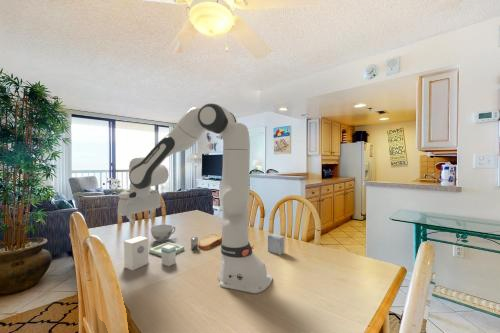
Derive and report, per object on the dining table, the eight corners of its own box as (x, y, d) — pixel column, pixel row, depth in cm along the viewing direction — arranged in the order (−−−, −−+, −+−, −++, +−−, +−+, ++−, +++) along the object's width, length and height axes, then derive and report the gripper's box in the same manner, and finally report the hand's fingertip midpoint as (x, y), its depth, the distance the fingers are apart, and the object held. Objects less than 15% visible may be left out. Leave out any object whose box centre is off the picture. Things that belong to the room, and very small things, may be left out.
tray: (184, 250, 126) (184, 246, 126) (166, 258, 115) (166, 254, 115) (167, 245, 132) (167, 242, 132) (149, 252, 122) (149, 249, 122)
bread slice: (200, 251, 125) (200, 244, 124) (194, 240, 141) (194, 234, 141) (232, 246, 132) (232, 240, 132) (222, 236, 148) (222, 231, 148)
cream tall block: (149, 263, 109) (148, 238, 109) (133, 270, 103) (132, 243, 102) (140, 260, 113) (139, 235, 113) (123, 266, 106) (123, 240, 106)
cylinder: (199, 248, 128) (199, 237, 128) (194, 250, 125) (194, 239, 125) (194, 247, 130) (194, 236, 130) (189, 249, 127) (189, 238, 126)
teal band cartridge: (175, 262, 110) (175, 246, 110) (168, 266, 107) (168, 249, 107) (168, 260, 113) (168, 244, 113) (161, 263, 110) (161, 246, 109)
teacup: (156, 245, 132) (156, 231, 131) (147, 240, 140) (147, 227, 140) (180, 239, 143) (180, 226, 142) (170, 234, 151) (170, 222, 151)
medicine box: (284, 252, 122) (284, 236, 122) (279, 255, 119) (279, 238, 118) (272, 249, 127) (272, 233, 127) (267, 251, 124) (267, 235, 124)
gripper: (154, 188, 121) (156, 215, 121) (115, 194, 103) (116, 225, 103) (163, 189, 117) (164, 216, 118) (123, 195, 100) (124, 227, 100)
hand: (141, 221), depth 110 cm, fingers open, 8 cm apart
